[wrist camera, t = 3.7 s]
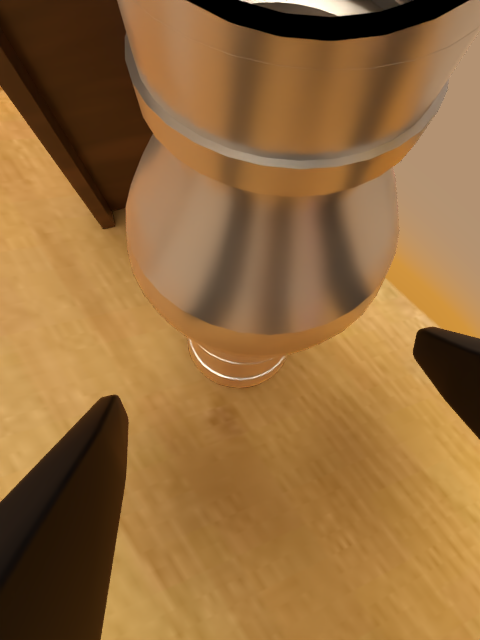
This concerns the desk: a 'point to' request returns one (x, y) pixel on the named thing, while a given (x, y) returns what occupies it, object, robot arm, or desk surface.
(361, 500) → the desk surface
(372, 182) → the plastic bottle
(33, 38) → the dark wooden stand
